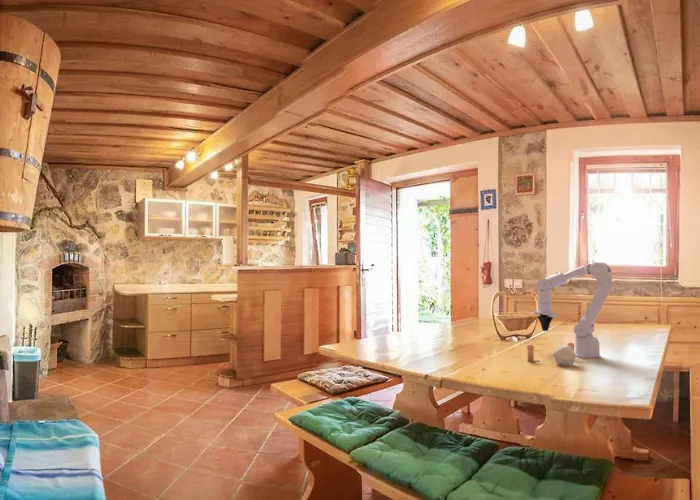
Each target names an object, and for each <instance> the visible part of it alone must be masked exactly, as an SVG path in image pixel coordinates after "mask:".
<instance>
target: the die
mask: <svg viewBox="0 0 700 500" xmlns="http://www.w3.org/2000/svg"><path fill="white" fill-rule="evenodd" d="M575 353H576V352H575V350H574V351H573V349H572V347H571V346H567V345H564V344H563V345H560V344H557V345H556V347H555V349H554V350H553V353H552V356H553V359H554V361H555V363H556V365H557V366H560V365H561V366H562V367H572V366H573V364H574V361H575V359H576V357H577V356H576V354H575Z"/></svg>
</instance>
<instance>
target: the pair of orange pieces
mask: <svg viewBox="0 0 700 500" xmlns="http://www.w3.org/2000/svg"><path fill="white" fill-rule="evenodd" d="M566 346H571V347H572V349H573V351H574V352H575V343H573V342H567V345H566ZM526 348H527V362H529V363H534V362H540V360H537V359H536V360H534V357H535V356H534V352H535V351H534V350H535V347H534V345H533V344H532V343H529V344H527V345H526Z"/></svg>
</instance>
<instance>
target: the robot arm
mask: <svg viewBox="0 0 700 500" xmlns="http://www.w3.org/2000/svg"><path fill="white" fill-rule="evenodd" d="M582 275H591V276H592V277H593V278H594V279H595V281H596V282H597V284H598V286H597V288H596V289H595V292H594V295H593V297H592V298H591V301H590V302H589V304H588V307H587V309H586V310H585V312H584V314H583V316H582V317H581V318H580V319H579V322H577V323H576V324H575V325H574V326H573V332H574V334H575V335H574V336H575V337H574V338H575V341H574V342H575V343H574V345H575V352H574V353H575V354H576V357H578V358H583V359H588V358H589V359H590V358H593V359H594V358H602V356H601V354H600V352H601V351H600V341H599V339H598V338H597V337H596V336H593V333H594V332H595V331H594V330H595V324H596V319H597V317H598V315H599V313H600V312H601V309H602V308H603V305H604V303H605V302H606V300H607V298H608V296H609V294H610V292H611V290H612V289H613V286H614V280H613V276H612V270H611V268H610V267H609V265H608V264H607V263H606V262H597V261H595V262H592V263H588V264H584V265H581V266H579V267H576V268H574V269H571V270H569V271H567V272H562V271H555V272H554V274H552V275H546V276H545V277H544V278H543V277H542V278H540V279H538V280H537V282H536V288H537V289H538V290H537V291H538V295H537V296H538V297H537V299H538V310H536V309H535V310H533V312H534V313H533V314H534V315H537V319H538V321H539V323H540V326H541V330H542V331H543V332H548V331H549V328H550V326H551V323H552V321H553V319H556V318H557V313H555V312H553V311H552V288H556V287H559V286H562V285H564V284H566V283H567V281H568V280H569V279H573V278H575V277H578V276H582Z"/></svg>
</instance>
